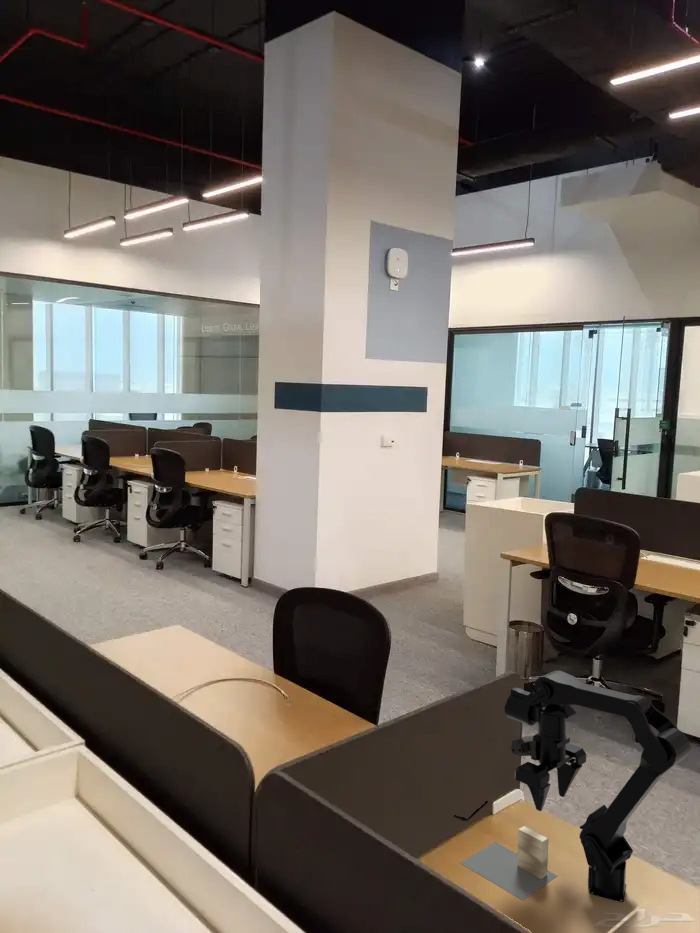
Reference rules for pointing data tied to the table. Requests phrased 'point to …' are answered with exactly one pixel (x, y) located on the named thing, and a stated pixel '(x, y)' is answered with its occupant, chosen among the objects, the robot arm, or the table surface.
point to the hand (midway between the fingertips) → (550, 803)
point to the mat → (506, 871)
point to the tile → (532, 852)
